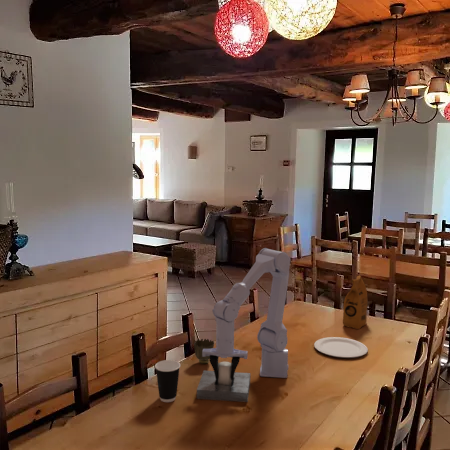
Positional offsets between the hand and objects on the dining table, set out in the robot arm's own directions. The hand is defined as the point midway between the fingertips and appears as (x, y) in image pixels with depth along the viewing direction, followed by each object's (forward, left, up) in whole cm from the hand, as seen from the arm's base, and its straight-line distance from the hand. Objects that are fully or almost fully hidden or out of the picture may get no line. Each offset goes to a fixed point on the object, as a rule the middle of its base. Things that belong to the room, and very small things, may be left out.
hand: (224, 378), depth 156 cm
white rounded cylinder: (0, 0, -2) cm, 3 cm away
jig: (0, 0, -4) cm, 4 cm away
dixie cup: (+17, +8, -4) cm, 19 cm away
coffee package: (-52, -71, -4) cm, 88 cm away
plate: (-42, -40, -5) cm, 58 cm away
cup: (+10, -20, -4) cm, 23 cm away
